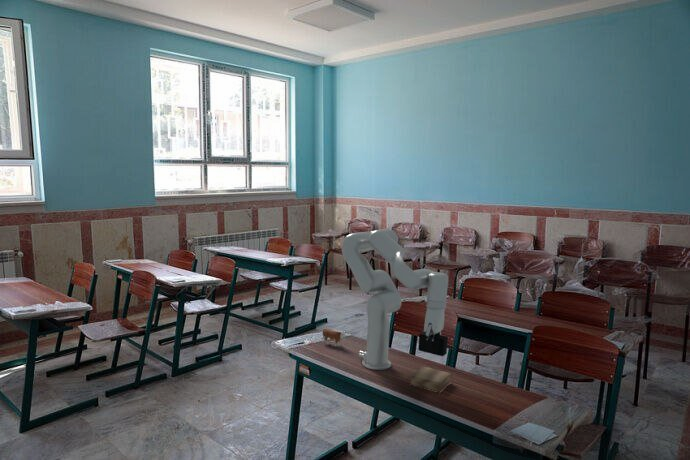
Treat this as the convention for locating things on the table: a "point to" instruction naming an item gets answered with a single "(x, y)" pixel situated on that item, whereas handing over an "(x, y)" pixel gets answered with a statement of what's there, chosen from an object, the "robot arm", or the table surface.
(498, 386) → the table surface
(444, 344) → the digital camera
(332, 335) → the bull figurine
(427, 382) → the plinth
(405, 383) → the table surface
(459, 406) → the table surface
